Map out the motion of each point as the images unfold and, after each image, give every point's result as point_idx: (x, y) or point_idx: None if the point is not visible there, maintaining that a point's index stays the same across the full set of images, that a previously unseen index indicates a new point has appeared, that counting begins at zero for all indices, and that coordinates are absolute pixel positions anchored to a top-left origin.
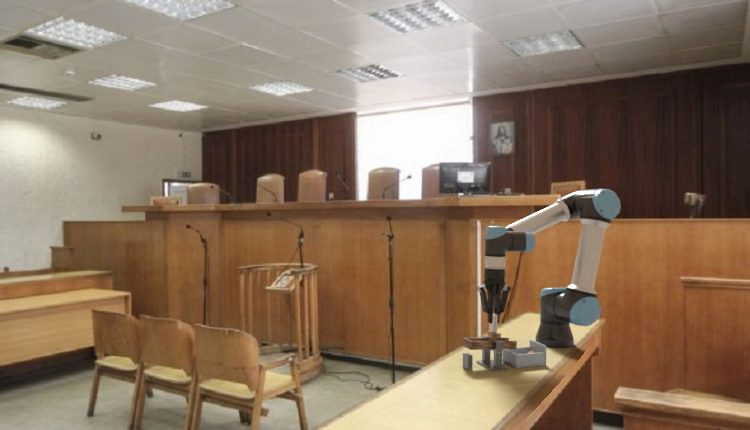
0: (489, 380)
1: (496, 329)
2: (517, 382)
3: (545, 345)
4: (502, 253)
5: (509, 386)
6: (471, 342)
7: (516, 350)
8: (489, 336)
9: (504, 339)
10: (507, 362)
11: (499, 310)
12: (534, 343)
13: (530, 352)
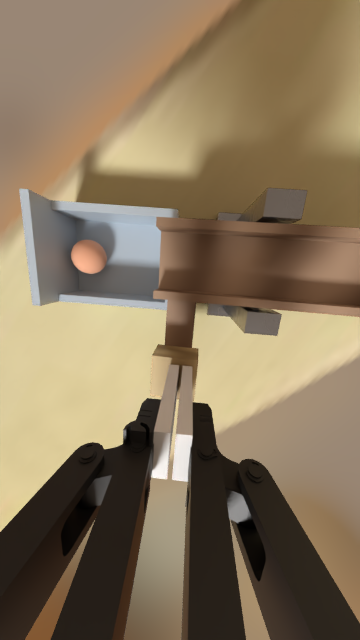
0: (348, 133)
1: (171, 372)
2: (277, 73)
3: (22, 191)
4: None
5: (336, 37)
6: None
7: (121, 297)
8: (251, 316)
9: (178, 291)
10: None
11: (124, 463)
12: (42, 270)
13: (89, 252)
